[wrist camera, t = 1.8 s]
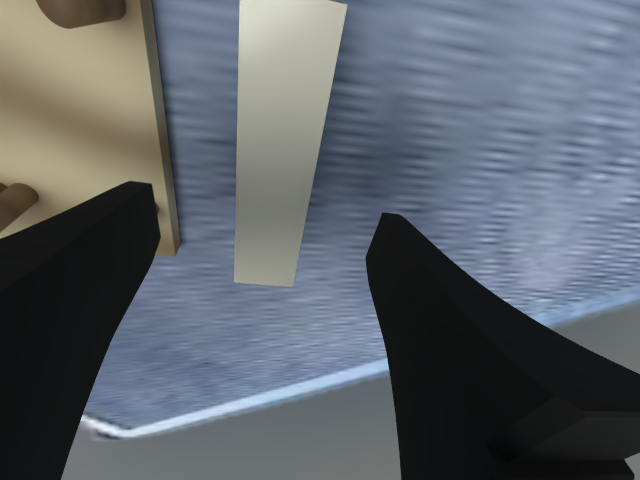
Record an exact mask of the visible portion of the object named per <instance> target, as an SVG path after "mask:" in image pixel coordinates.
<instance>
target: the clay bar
mask: <svg viewBox="0 0 640 480" xmlns="http://www.w3.org/2000/svg"><path fill="white" fill-rule="evenodd" d="M346 9H347V4H344V3H341V2H338V1H334V0H240V14H239V63H238V111H237V159H236V207H235V256H234V283H246V284H259V285H272V286H285V287H293V283H294V278H295V272H296V267H297V262H298V257H299V252H300V247H301V241H302V236H303V231H304V226H305V221H306V216H307V211H308V205H309V200H310V195H311V190H312V185H313V180H314V174H315V169H316V164H317V159H318V154H319V149H320V144H321V138H322V133H323V128H324V123H325V118H326V113H327V107H328V102H329V97H330V92H331V87H332V82H333V77H334V71H335V66H336V61H337V56H338V51H339V46H340V40H341V35H342V30H343V25H344V20H345V15H346Z"/></svg>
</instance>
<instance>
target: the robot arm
mask: <svg viewBox="0 0 640 480" xmlns="http://www.w3.org/2000/svg"><path fill="white" fill-rule="evenodd" d="M160 239H161V234H160V228H159V222H158V216H157V210H156V204H155V199H154V193H153V187H152V183H144V182H136V181H128V182H125V183H123V184H120V185H118V186H116V187H114V188H112V189H109V190H107V191H105V192H103V193H101V194H99V195H97V196H95V197H93V198H91V199H89V200H87V201H85V202H83V203H81V204H79V205H76V206H74V207H72V208H70V209H68V210H66V211H64V212H62V213H60V214H57V215H55V216H53V217H50V218H48V219H46V220H44V221H41V222H39V223H37V224H34V225H32V226H30V227H28V228H25V229H23V230H21V231H18V232H16V233H13V234H11V235H8V236H6V237H3V238H0V480H61V477H62V474H63V471H64V468H65V464H66V461H67V458H68V455H69V452H70V449H71V446H72V443H73V440H74V437H75V434H76V432H77V429H78V426H79V423H80V420H81V417H82V414H83V411H84V408H85V406H86V403H87V401H88V398H89V395H90V393H91V390H92V387H93V385H94V382H95V379H96V377H97V374H98V372H99V369H100V367H101V364H102V362H103V359H104V357H105V354H106V352H107V349H108V347H109V345H110V342H111V340H112V338H113V336H114V334H115V332H116V330H117V328H118V326H119V324H120V322H121V320H122V318H123V316H124V315H125V313H126V311H127V309H128V307H129V305H130V303H131V302H132V300H133V298H134V296H135V294H136V292H137V291H138V289H139V287H140V285H141V283H142V281H143V280H144V278H145V276H146V274H147V272H148V270H149V268H150V266H151V264H152V262H153V259H154V256H155V254H156V251H157V248H158V245H159V242H160ZM366 266H367V275H368V282H369V287H370V291H371V294H372V298H373V302H374V306H375V309H376V313H377V317H378V321H379V324H380V328H381V332H382V335H383V339H384V343H385V348H386V352H387V358H388V364H389V371H390V377H391V384H392V391H393V398H394V406H395V413H396V424H397V433H398V441H399V442H398V443H399V452H400V467H401V480H634V473H633V472H632V470H631V469H630V468H629V466H628V465H627V463H626V462H625V460H624V459H625V458H628V457H630V456H632V455H635V454H637V453H640V374H638V373H636V372H634V371H632V370H630V369H627V368H625V367H623V366H621V365H619V364H617V363H615V362H613V361H610V360H608V359H606V358H604V357H602V356H600V355H598V354H596V353H594V352H592V351H590V350H588V349H586V348H584V347H582V346H580V345H578V344H576V343H574V342H573V341H571V340H569V339H567V338H565V337H563V336H561V335H559V334H558V333H556V332H554V331H553V330H551V329H549V328H547V327H546V326H544V325H542V324H540V323H539V322H537V321H535V320H534V319H532V318H530V317H529V316H527V315H526V314H524V313H522V312H521V311H519V310H518V309H516V308H514V307H513V306H511V305H510V304H508V303H507V302H505V301H504V300H502V299H501V298H499V297H498V296H497V295H495V294H494V293H492V292H491V291H490V290H488V289H487V288H485V287H484V286H483V285H481V284H480V283H478V282H477V281H476V280H475V279H473V278H472V277H471V276H469V275H468V274H467V273H466V272H465V271H463V270H462V269H461V268H460V267H458V266H457V265H456V264H455V263H454V262H453V261H451V260H450V259H449V258H448V257H447V256H446V255H444V254H443V253H442V252H441V251H440V250H439V249H438V248H437V247H436V246H435V245H433V244H432V243H431V242H430V241H429V240H428V239H427V238H426V237H425V236H424V235H423V234H422V233H420V232H419V231H418V230H417V229H416V228H415V227H414V226H413V225H412V224H411V223H410V222H408V221H407V220H406V219H405V218H404V217H402V216H401V215H399V214H391V213H382V215H381V218H380V221H379V223H378V226H377V229H376V231H375V234H374V237H373V239H372V242H371V244H370V247H369V250H368V252H367V255H366Z"/></svg>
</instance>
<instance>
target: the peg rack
mask: <svg viewBox="0 0 640 480" xmlns="http://www.w3.org/2000/svg"><path fill="white" fill-rule="evenodd" d="M128 181H136V182H144V183H152V187H153V193H154V199H155V204H156V210H157V216H158V222H159V228H160V234H161V239H160V242H159V245H158V248H157V251H156V254H155V255H163V256H174V257H175V256H176V254H177V252H178V249H179V247H180V245H181V241H180V233H179V225H178V216H177V208H176V200H175V191H174V183H173V175H172V167H171V158H170V150H169V142H168V133H167V125H166V117H165V109H164V100H163V92H162V84H161V75H160V67H159V59H158V51H157V42H156V34H155V26H154V17H153V9H152V1H151V0H0V238H3V237H6V236H8V235H11V234H13V233H16V232H18V231H21V230H23V229H25V228H28V227H30V226H32V225H34V224H37V223H39V222H41V221H44V220H46V219H48V218H50V217H53V216H55V215H57V214H60V213H62V212H64V211H66V210H68V209H70V208H72V207H74V206H76V205H79V204H81V203H83V202H85V201H87V200H89V199H91V198H93V197H95V196H97V195H99V194H101V193H103V192H105V191H107V190H109V189H112V188H114V187H116V186H118V185H120V184H123V183H125V182H128Z"/></svg>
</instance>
